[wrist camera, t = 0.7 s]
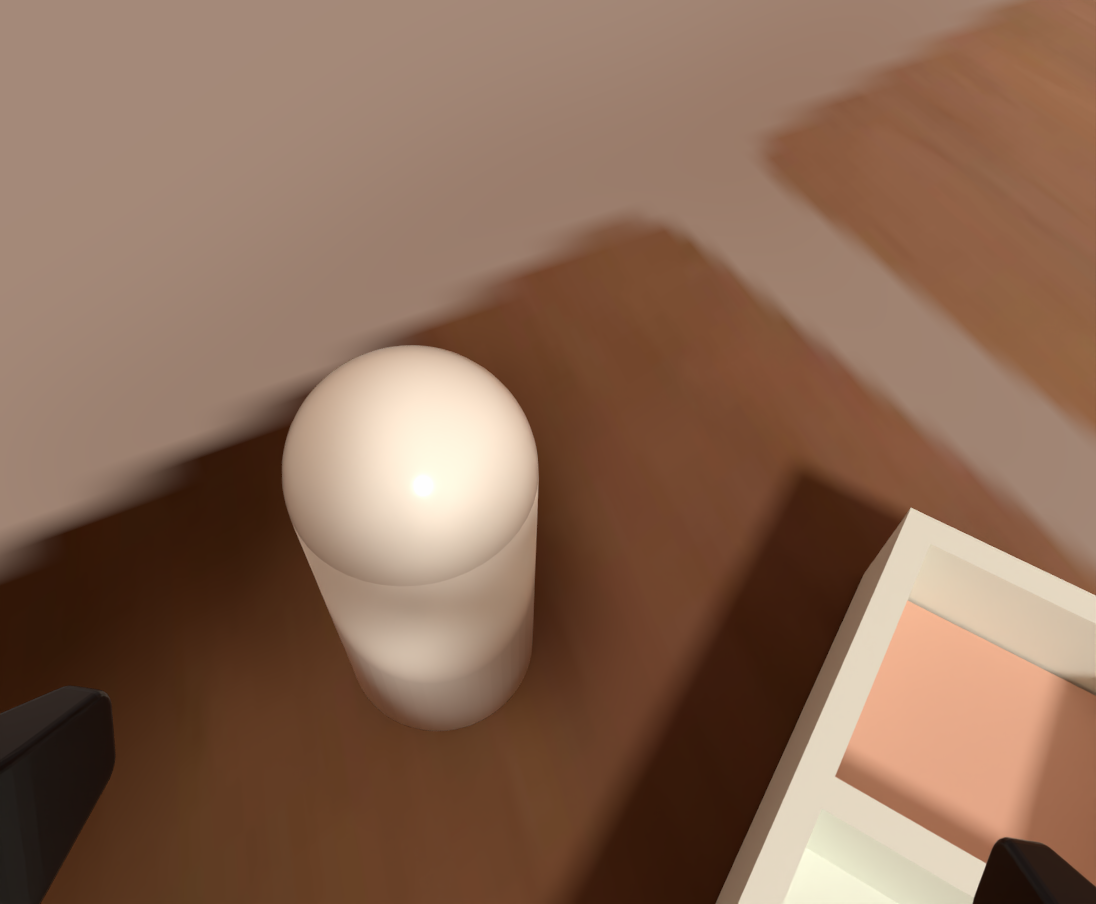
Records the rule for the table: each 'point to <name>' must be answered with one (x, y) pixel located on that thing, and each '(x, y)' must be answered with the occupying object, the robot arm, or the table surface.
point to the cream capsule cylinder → (420, 529)
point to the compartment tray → (933, 733)
